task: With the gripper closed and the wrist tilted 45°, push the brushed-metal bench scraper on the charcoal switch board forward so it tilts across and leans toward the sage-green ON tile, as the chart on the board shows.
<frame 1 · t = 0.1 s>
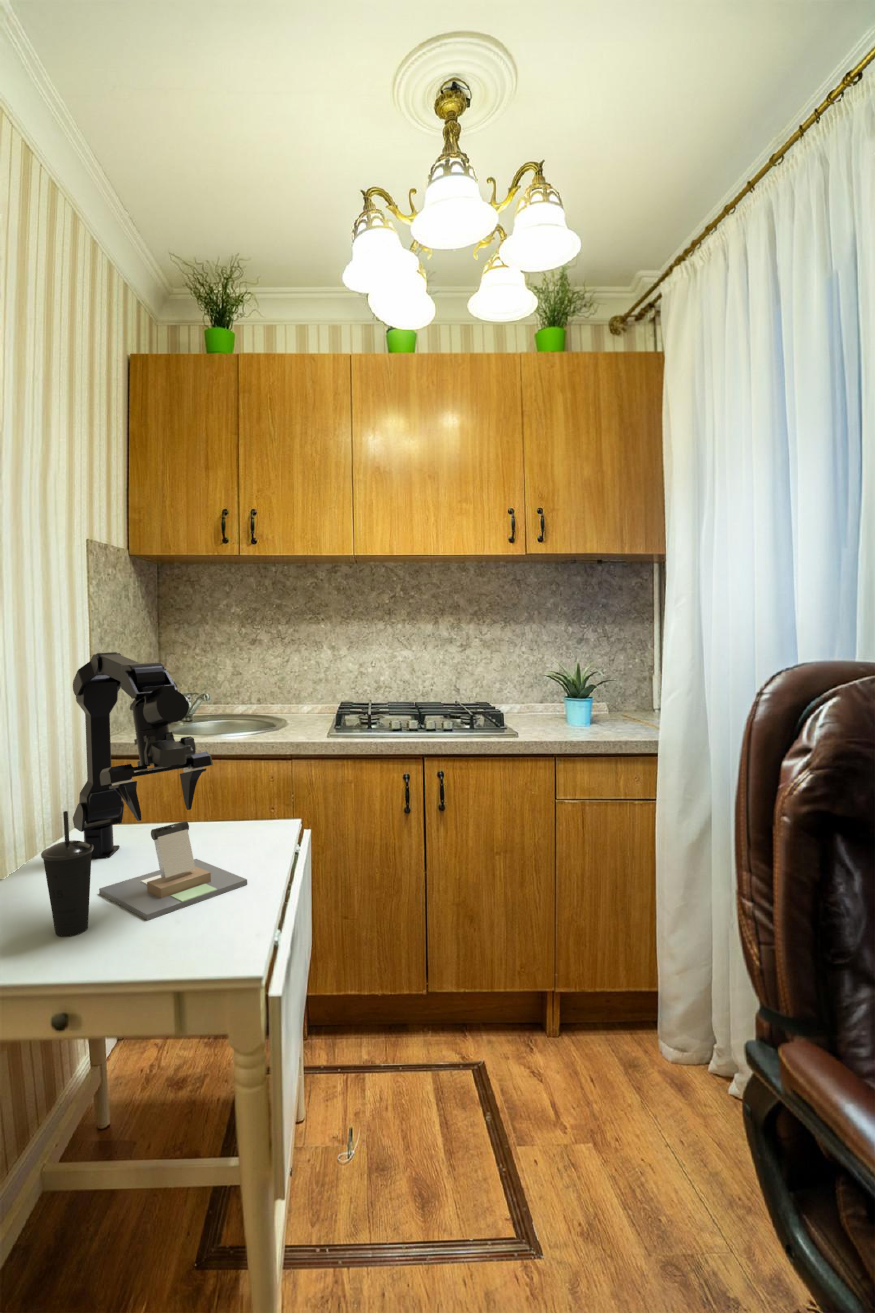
hand: (164, 815, 129), 15 cm above the table, tool pointing down, fingers open, 9 cm apart
switch board: (179, 891, 133), on the table
bench scraper: (173, 849, 134), point 8 cm above the table, hinge at -18.0°
drinking cup: (71, 931, 118), on the table
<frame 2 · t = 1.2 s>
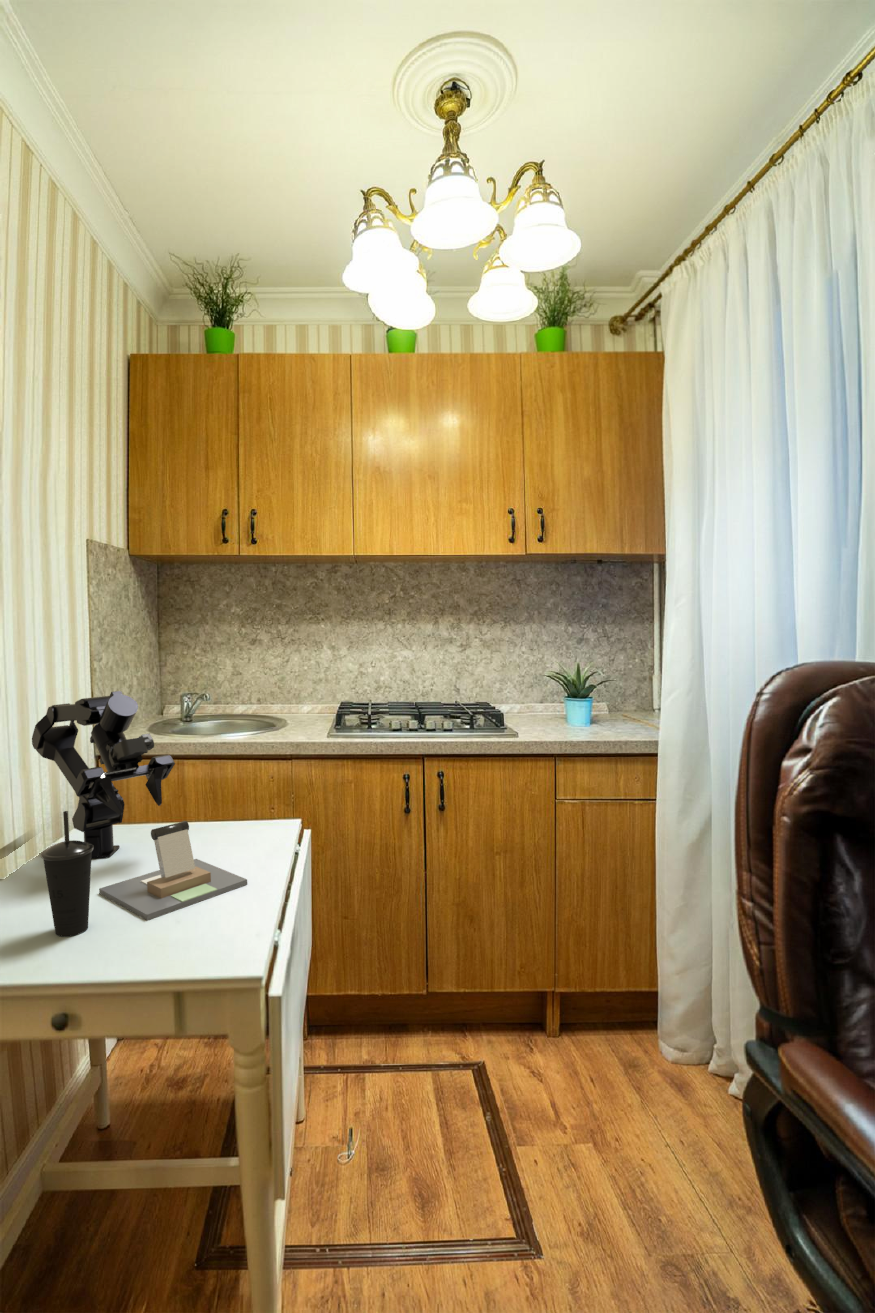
hand: (141, 809, 141), 13 cm above the table, tool tilted 45°, fingers open, 8 cm apart
nothing on the table moved.
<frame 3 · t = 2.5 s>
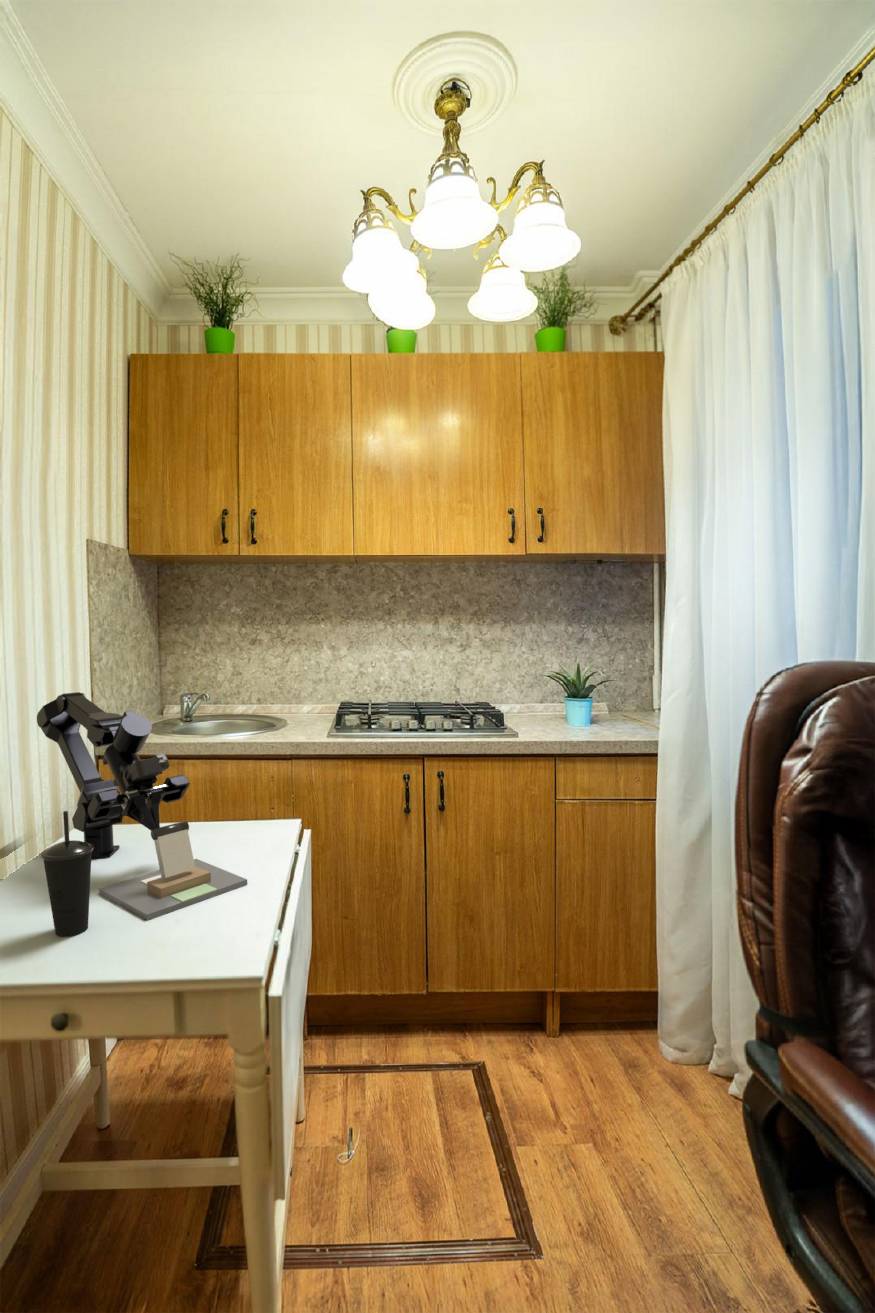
hand: (157, 831, 138), 10 cm above the table, tool tilted 45°, fingers closed
nothing on the table moved.
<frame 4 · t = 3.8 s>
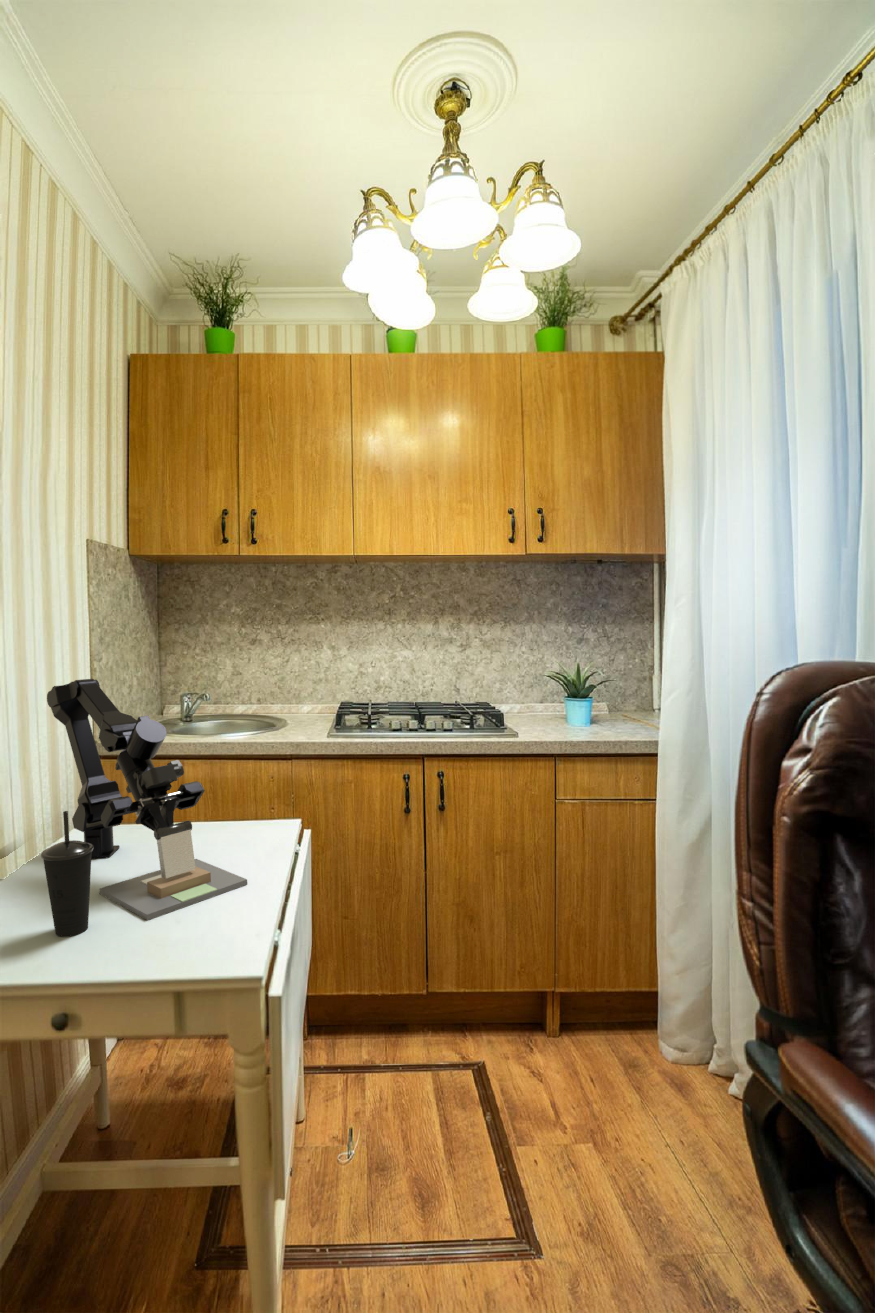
hand: (171, 840, 134), 9 cm above the table, tool tilted 45°, fingers closed, pressing on bench scraper
bench scraper: (175, 849, 133), point 8 cm above the table, hinge at -9.9°, touching gripper
everything else where it was.
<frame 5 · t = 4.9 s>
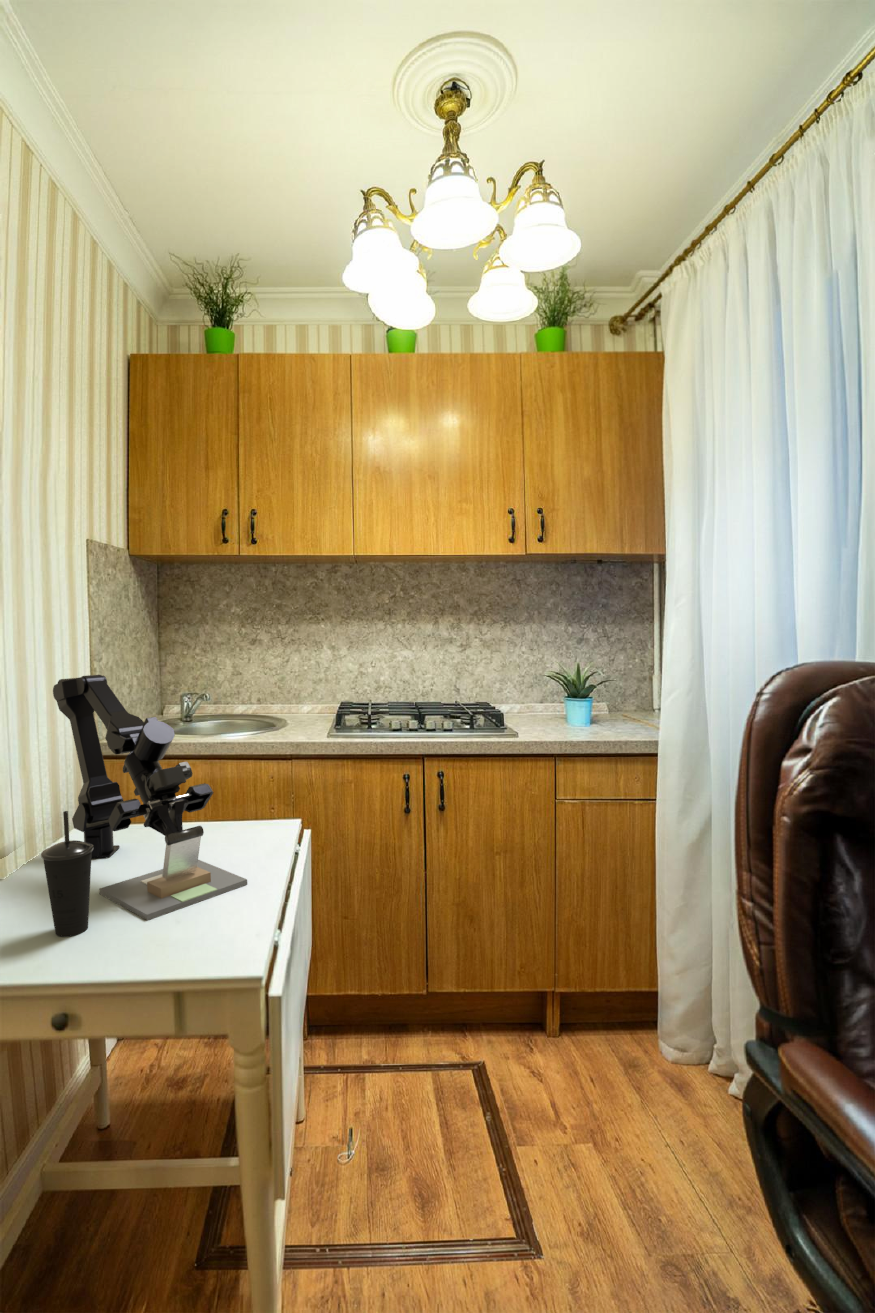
hand: (180, 843, 132), 10 cm above the table, tool tilted 45°, fingers closed, pressing on bench scraper
bench scraper: (182, 852, 132), point 8 cm above the table, hinge at 16.3°, touching gripper
everything else where it was.
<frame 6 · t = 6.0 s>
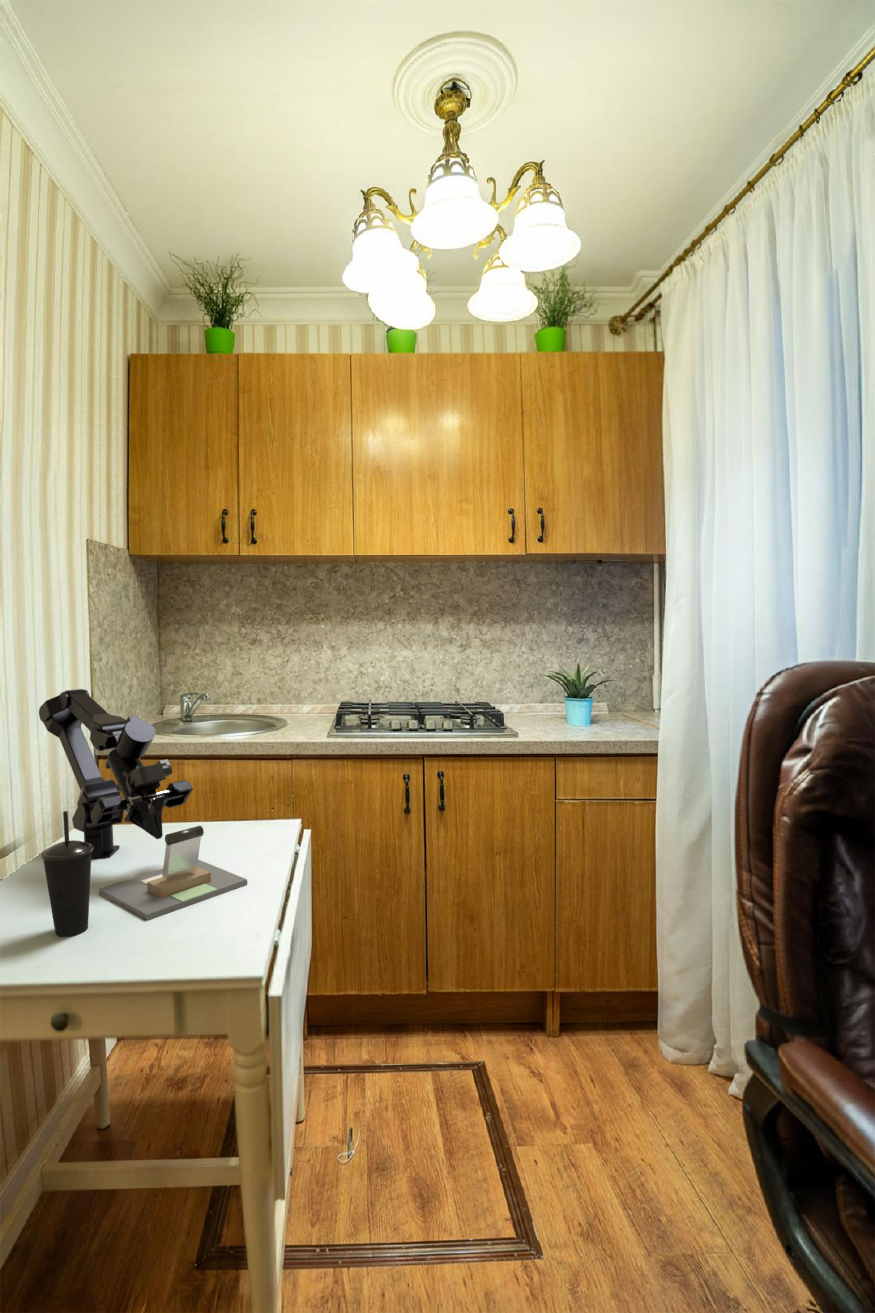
hand: (159, 837, 137), 9 cm above the table, tool tilted 45°, fingers closed
bench scraper: (182, 852, 132), point 8 cm above the table, hinge at 16.4°
everything else where it was.
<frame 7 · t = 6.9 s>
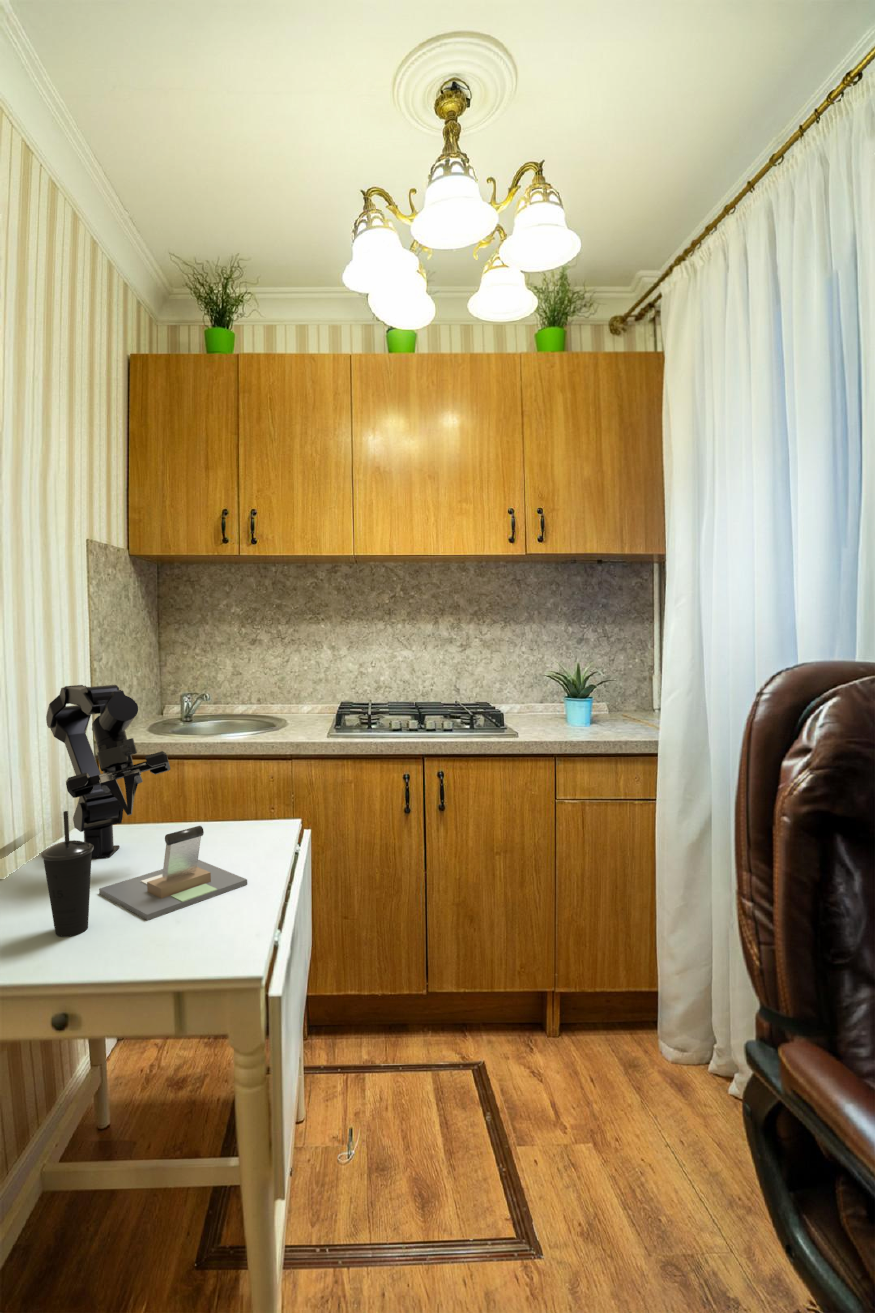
hand: (129, 814, 140), 13 cm above the table, tool tilted 30°, fingers closed
nothing on the table moved.
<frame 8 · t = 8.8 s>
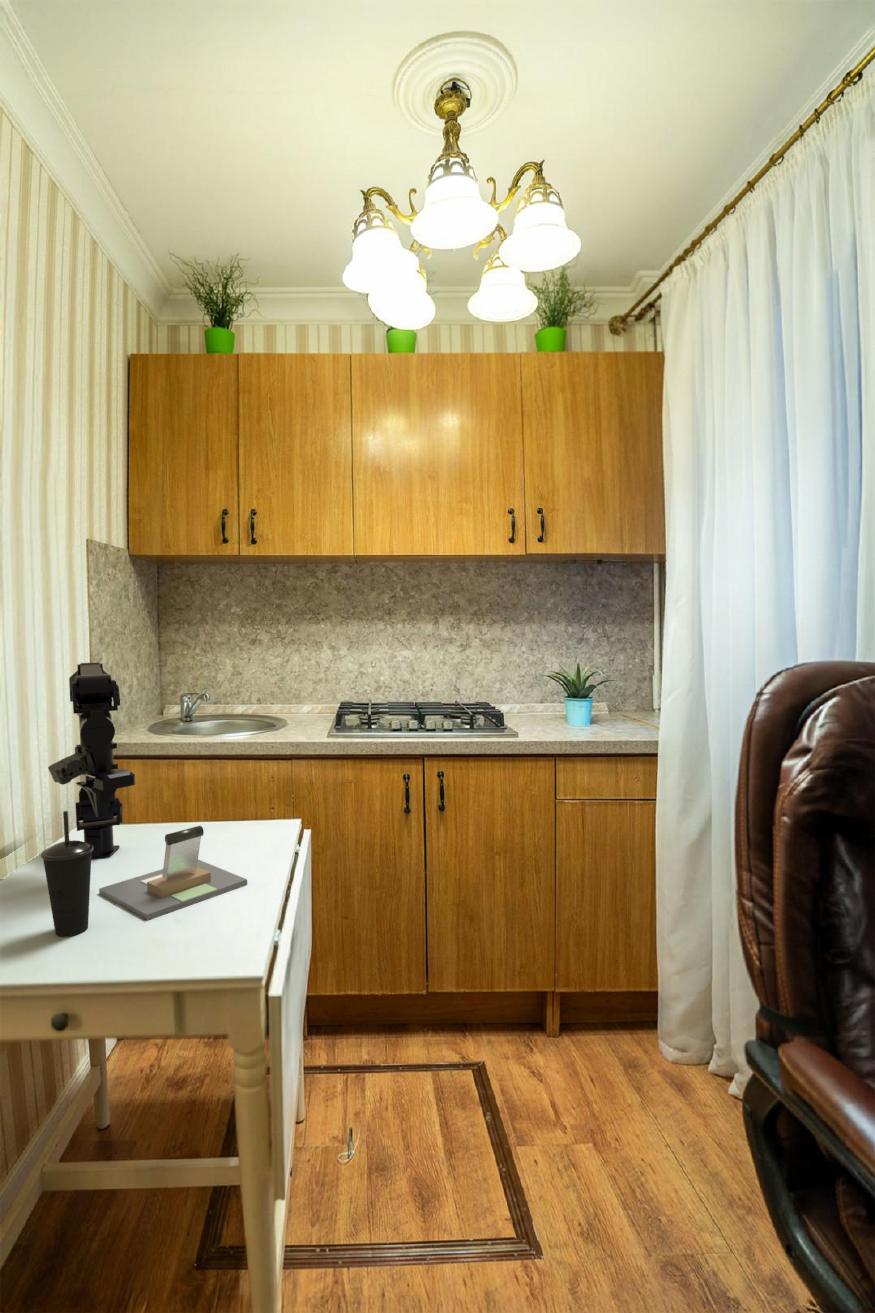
hand: (100, 817, 141), 12 cm above the table, tool pointing down, fingers closed
nothing on the table moved.
at the end: bench scraper at +16° (first picture: -18°) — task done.
